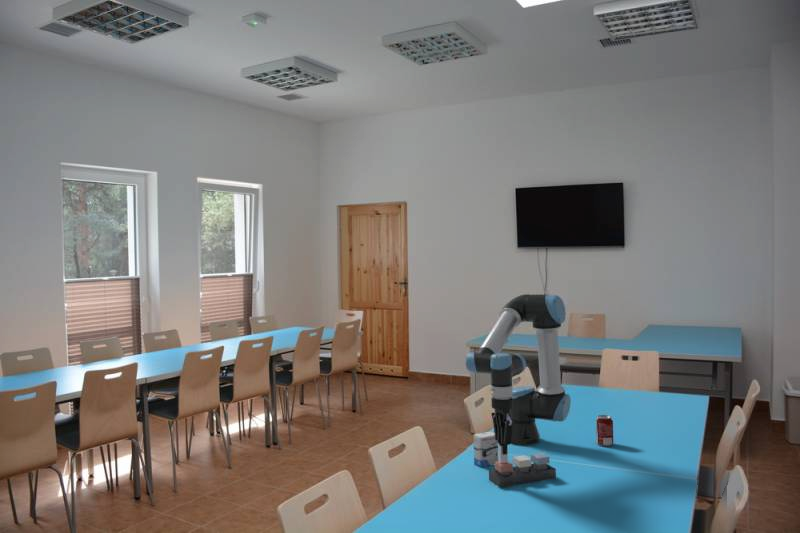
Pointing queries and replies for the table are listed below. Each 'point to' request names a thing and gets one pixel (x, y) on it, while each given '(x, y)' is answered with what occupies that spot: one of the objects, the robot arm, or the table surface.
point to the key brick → (503, 468)
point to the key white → (522, 463)
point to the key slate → (540, 460)
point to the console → (522, 476)
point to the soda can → (604, 430)
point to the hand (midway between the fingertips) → (503, 462)
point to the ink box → (485, 449)
